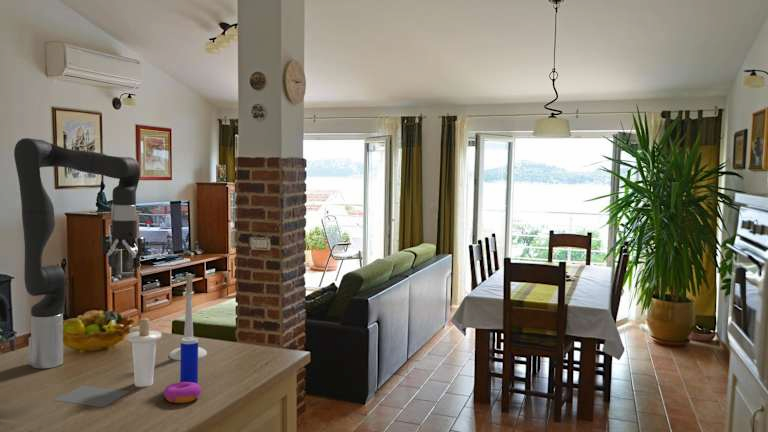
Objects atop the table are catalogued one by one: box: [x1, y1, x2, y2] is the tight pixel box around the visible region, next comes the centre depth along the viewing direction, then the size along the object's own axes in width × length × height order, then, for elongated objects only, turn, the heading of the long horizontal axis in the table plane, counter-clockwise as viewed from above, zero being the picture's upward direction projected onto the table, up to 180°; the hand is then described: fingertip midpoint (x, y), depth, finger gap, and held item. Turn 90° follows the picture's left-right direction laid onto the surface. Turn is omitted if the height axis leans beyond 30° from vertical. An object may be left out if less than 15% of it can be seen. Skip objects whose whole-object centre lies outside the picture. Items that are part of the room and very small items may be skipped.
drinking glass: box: [131, 341, 157, 388], centre depth 185 cm, size 7×7×15 cm
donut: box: [163, 382, 202, 404], centre depth 176 cm, size 10×10×5 cm
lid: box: [126, 317, 162, 344], centre depth 184 cm, size 10×10×6 cm
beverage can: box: [179, 336, 199, 385], centre depth 186 cm, size 5×5×15 cm
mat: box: [53, 385, 130, 408], centre depth 174 cm, size 16×12×1 cm
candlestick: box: [169, 273, 208, 361], centre depth 215 cm, size 13×13×30 cm
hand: (124, 267), depth 197 cm, fingers open, 8 cm apart
